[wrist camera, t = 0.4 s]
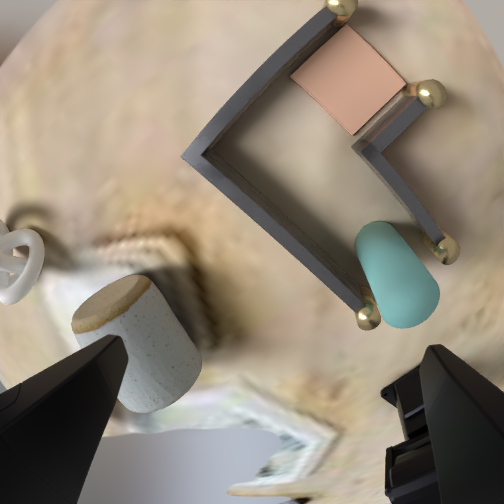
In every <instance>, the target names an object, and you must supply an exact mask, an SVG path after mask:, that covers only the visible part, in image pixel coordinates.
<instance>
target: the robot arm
mask: <svg viewBox="0 0 504 504" xmlns="http://www.w3.org/2000/svg"><path fill="white" fill-rule="evenodd" d="M128 361H129V357H128V353H127V350H126V347H125V345H124V342H123V339H122V337H121V336H119V335H114V334H108V335H106V336H104V337H102V338H100V339H99V340H97V341H95V342H93V343H91V344H90V345H88V346H86V347H84V348H82V349H81V350H79V351H77V352H75V353H73V354H72V355H70V356H68V357H66V358H64V359H63V360H61V361H59V362H57V363H55V364H54V365H52V366H50V367H48V368H47V369H45V370H43V371H41V372H39V373H38V374H36V375H34V376H32V377H30V378H29V379H27V380H25V381H23V382H22V383H19V384H18V385H16V386H14V387H12V388H10V389H9V390H7V391H5V392H3V393H1V394H0V504H77V501H78V499H79V496H80V493H81V490H82V487H83V485H84V482H85V479H86V476H87V474H88V471H89V468H90V466H91V463H92V460H93V458H94V455H95V453H96V450H97V447H98V445H99V442H100V440H101V437H102V435H103V432H104V430H105V428H106V425H107V423H108V420H109V418H110V415H111V413H112V411H113V408H114V406H115V403H116V400H117V397H118V394H119V391H120V388H121V384H122V381H123V378H124V374H125V371H126V368H127V365H128ZM380 394H381V397H382V398H384V399H385V400H386V401H388V402H389V403H390V404H392V405H393V406H395V407H396V408H397V409H398V413H399V417H400V421H401V425H402V430H403V434H404V438H405V441H404V442H402V443H400V444H398V445H395V446H393V447H392V446H391V447H389V448H387V449H386V458H385V495H386V496H387V497H389V499H390V501H391V503H392V504H504V392H503V391H501V390H500V389H499V388H498V387H496V386H495V385H494V384H493V383H491V382H490V381H489V380H487V379H486V378H485V377H484V376H482V375H481V374H480V373H478V372H477V371H476V370H475V369H473V368H472V367H471V366H469V365H468V364H467V363H465V362H464V361H463V360H462V359H460V358H459V357H458V356H456V355H455V354H454V353H452V352H451V351H450V350H448V349H447V348H446V347H444V346H443V345H441V344H435V345H429V346H428V347H427V349H426V351H425V354H424V357H423V359H422V362H421V364H420V365H419V366H418V367H416V368H415V369H413V370H412V371H410V372H409V373H407V374H406V375H404V376H403V377H401V378H400V379H398V380H397V381H395V382H394V383H392V384H391V385H389V386H388V387H386V388H384V389H383V390H381V392H380Z"/></svg>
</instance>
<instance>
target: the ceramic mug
mask: <svg viewBox="0 0 504 504" xmlns="http://www.w3.org/2000/svg"><path fill="white" fill-rule="evenodd" d="M71 326H72V330H73V333H74V335H75V337H76V339H77V341H78V344H79V345H80V347H81V349H82V348H84V347H86V346H88V345H90V344H91V343H93V342H95V341H97V340H99V339H100V338H102V337H104V336H106V335H108V334H114V335H119V336H121V337H122V339H123V342H124V345H125V347H126V350H127V353H128V357H129V361H128V365H127V368H126V371H125V374H124V378H123V381H122V384H121V388H120V391H119V394H118V397H117V398H118V399H119V401H120V402H121V403H122V404H123V405H124V406H125V407H126V408H127V409H129V410H130V411H133V412H136V413H149V412H154V411H157V410H160V409H162V408H165V407H167V406H169V405H171V404H173V403H174V402H176V401H177V400H178V399H180V398H181V397H182V396H183V395H184V394H185V393H186V392H188V391H189V389H190V388H191V387H192V386H193V384H194V383H195V381H196V379H197V378H198V376H199V374H200V372H201V367H202V358H201V354H200V352H199V350H198V349H197V348H196V346H195V345H194V344H193V342H192V341H191V339H190V337H189V336H188V334H187V333H186V331H185V330H184V328H183V327H182V325H181V324H180V322H179V321H178V319H177V318H176V316H175V315H174V313H173V312H172V310H171V308H170V307H169V305H168V303H167V301H166V300H165V298H164V296H163V295H162V293H161V292H160V291H159V289H158V288H157V287H156V286H155V284H154V283H153V282H152V281H151V280H150V279H149V278H148V277H146V276H143V275H136V274H134V275H130V276H126V277H124V278H121V279H119V280H117V281H115V282H113V283H111V284H109V285H107V286H106V287H104V288H102V289H101V290H99V291H98V292H96V293H95V294H93V295H92V296H91V297H90V298H88V299H87V300H86V301H85V302H84V303H83V304H82V305H81V306H80V307H79V308H78V309H77V310H76V311H75V313H74V315H73V318H72V323H71Z"/></svg>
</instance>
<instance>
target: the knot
mask: <svg viewBox="0 0 504 504" xmlns="http://www.w3.org/2000/svg"><path fill="white" fill-rule="evenodd" d="M21 245H27V246H29V258H28V260H27V259H24V258H20V257H16V256H13V248H15V247H18V246H21ZM44 256H45V248H44V243H43V240H42V238H41V236H40V235H39V234H38V233H37V232H36V231H34V230H31V229H18V230H15V231H12V232H9V230H8V228H7V226H6V225H5V223H4V222H3V221H2V220H1V219H0V302H2V303H4V304H7V305H10V304H15V303H17V302H19V301H20V300H21V299H23V298H24V297H25V296H26V295H27V294H28V292H29V291H30V290H31V289H32V287H33V286H34V284H35V282H36V280H37V279H38V276H39V274H40V272H41V269H42V266H43V262H44ZM10 273H16V274H14V275H10ZM9 275H10V276H9Z"/></svg>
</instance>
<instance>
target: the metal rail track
mask: <svg viewBox="0 0 504 504" xmlns="http://www.w3.org/2000/svg"><path fill="white" fill-rule="evenodd" d="M357 6H358V0H325V3H324V6H323V9H322V10H321V11H319V12H318V13H317V14H316V15H315V16H314V17H312V18H311V19H310V20H309V21H308V22H307V23H306V24H304V25H303V26H302V27H301V28H300V29H299V30H298V31H297V32H296V33H295V34H293V35H292V36H291V37H290V38H289V39H288V40H287V41H286V42H285V43H284V44H283V45H282V46H281V47H280V48H279V49H278V50H277V51H276V52H274V53H273V54H272V55H271V56H270V57H269V58H268V59H267V60H266V61H265V62H264V63H263V64H262V65H261V66H260V67H259V68H258V69H257V70H256V71H255V72H254V74H253V75H252V76H251V77H250V78H249V79H248V80H247V81H246V82H245V83H244V84H243V85H242V86H241V87H240V88H239V89H238V90H237V91H236V93H235V94H234V95H233V96H232V97H231V98H230V99H229V100H228V101H227V102H226V104H225V105H224V106H223V107H222V108H221V109H220V110H219V111H218V113H217V114H216V115H215V116H214V117H213V118H212V119H211V121H210V122H209V123H208V124H207V125H206V126H205V128H204V129H203V130H202V131H201V132H200V133H199V135H198V136H197V137H196V138H195V139H194V141H193V142H192V143H191V144H190V146H189V147H188V148H187V149H186V151H185V152H184V153H183V154H182V155H181V158H183V159H184V160H185V161H186V162H187V163H188V164H190V165H191V166H192V167H193V168H194V169H195V170H197V171H198V172H199V173H200V174H201V175H202V176H204V177H205V178H206V179H207V180H208V181H209V182H210V183H212V184H213V185H214V186H215V187H216V188H217V189H219V190H220V191H221V192H222V193H223V194H224V195H225V196H227V197H228V198H229V199H230V200H231V201H232V202H234V203H235V204H236V205H237V206H238V207H239V208H240V209H241V210H243V211H244V212H245V213H246V214H247V215H248V216H249V217H251V218H252V219H253V220H254V221H255V222H256V223H257V224H258V225H260V226H261V227H262V228H263V229H264V230H265V231H266V232H268V233H269V234H270V235H271V236H272V237H273V238H274V239H275V240H276V241H278V242H279V243H280V244H281V245H282V246H283V247H284V248H285V249H287V250H288V251H289V252H290V253H291V254H292V255H293V256H294V257H295V258H297V259H298V260H299V261H300V262H301V263H302V264H303V265H304V266H305V267H306V268H308V269H309V270H310V271H311V272H312V273H313V274H314V275H315V276H316V277H317V278H319V279H320V280H321V281H322V282H323V283H324V284H325V285H326V286H327V287H328V288H329V289H331V290H332V291H333V292H334V293H335V294H336V295H337V296H338V297H339V298H340V299H341V300H342V301H344V302H345V303H346V304H347V305H348V306H349V307H350V308H351V309H352V310H353V311H354V312H355V316H356V319H357V323H358V326H359V328H361V329H362V330H372V329H374V328H376V327H377V326H378V325H379V324H380V322H381V316H380V313H379V311H378V308H377V305H376V303H375V300H374V298H373V295H372V293H371V290H370V289H369V288H367V287H363V286H362V287H359V286H358V285H357V284H356V283H355V282H354V281H353V280H352V279H351V278H350V277H349V276H348V275H347V274H346V273H345V272H344V271H343V270H342V269H341V268H340V267H339V266H338V265H337V264H336V263H335V262H334V261H333V260H332V259H331V258H330V257H329V256H328V255H327V254H326V253H325V252H323V251H322V250H321V249H320V248H319V247H318V246H317V245H316V244H315V243H314V242H313V241H312V240H311V239H310V238H309V237H308V236H307V235H306V234H305V233H303V232H302V231H301V230H300V229H299V228H298V227H297V226H296V225H295V224H294V223H293V222H292V221H291V220H290V219H288V218H287V217H286V216H285V215H284V214H283V213H282V212H281V211H280V210H279V209H278V208H276V207H275V206H274V205H273V204H272V203H271V202H270V201H269V200H268V199H267V198H265V197H264V196H263V195H262V194H261V193H260V192H259V191H258V190H257V189H255V188H254V187H253V186H252V185H251V184H250V183H249V182H248V181H246V180H245V179H244V178H243V177H242V176H241V175H240V174H239V173H237V172H236V171H235V170H234V169H233V168H232V167H231V166H229V165H228V164H227V163H226V162H225V161H224V160H223V159H221V158H220V157H219V156H218V155H217V154H216V153H214V152H213V151H212V150H211V149H212V148H213V146H214V145H215V144H216V143H217V142H218V141H219V140H220V138H221V137H222V136H223V135H224V134H225V133H226V132H227V130H228V129H229V128H230V127H231V126H232V125H233V124H234V123H235V122H236V121H237V119H238V118H239V117H240V116H241V115H242V114H243V113H244V112H245V111H246V110H247V109H248V108H249V106H250V105H251V104H252V103H253V102H254V101H255V100H256V99H257V98H258V97H259V96H260V95H261V94H262V93H263V92H264V91H265V90H266V89H267V88H268V87H269V86H270V85H271V84H272V83H273V82H274V81H275V80H276V79H277V78H278V77H279V76H280V75H281V74H282V73H283V72H284V71H285V70H286V69H287V68H288V67H289V66H290V65H291V64H292V63H293V62H294V61H295V60H296V59H297V58H298V57H299V56H300V55H301V54H302V53H303V52H304V51H305V50H306V49H308V48H309V47H310V46H311V45H312V44H313V43H314V42H315V41H316V40H317V39H318V38H320V37H321V36H322V35H323V34H324V33H325V32H326V31H327V30H328V29H330V28H331V27H340V26H343V25H344V24H345V23H346V22H347V20H348V19H349V18H350V16H351V15H352V13H353V12H354V11H355V9H356V8H357ZM402 94H403V97H402V98H401V99H400V100H399V101H398V102H397V103H396V104H395V105H394V106H393V107H392V108H391V109H390V110H389V111H388V112H387V113H386V114H385V115H384V116H382V117H381V118H380V119H379V120H378V121H377V122H376V123H375V124H374V125H373V126H372V127H371V128H370V129H369V130H368V131H367V132H366V133H365V134H364V135H363V136H362V137H361V138H360V139H359V140H358V141H357V142H356V143H355V144H354V145H352V146H351V147H352V148H353V149H354V150H355V152H356V153H357V154H358V155H359V156H360V157H361V158H362V159H363V160H364V161H365V162H366V163H367V165H368V166H369V167H370V168H371V169H372V170H373V171H374V172H375V174H376V175H377V176H378V177H379V178H380V179H381V180H382V182H383V183H384V184H385V185H386V186H387V187H388V189H389V190H390V191H391V192H392V193H393V195H394V196H395V197H396V198H397V199H398V201H399V202H400V203H401V204H402V206H403V207H404V208H405V209H406V211H407V212H408V213H409V214H410V216H411V217H412V218H413V220H414V221H415V222H416V223H417V225H418V226H419V227H420V229H421V230H422V231H423V232H422V240H423V242H424V243H425V244H426V245H427V246H428V248H429V249H430V250H431V251H432V252H433V253H434V254H435V256H436V257H437V258H438V259H439V260H440V261H441V263H443V264H445V265H450V264H452V263H454V262H455V261H456V260H457V259H458V257H459V254H460V246H459V245H458V243H457V242H456V241H454V240H453V239H452V238H451V237H450V236H449V235H448V234H447V233H446V232H445V231H444V230H442V229H441V228H440V227H439V226H438V225H437V224H436V223H435V222H434V220H433V219H432V217H431V216H430V215H429V213H428V212H427V210H426V209H425V208H424V206H423V205H422V204H421V202H420V201H419V200H418V198H417V197H416V196H415V194H414V193H413V192H412V191H411V189H410V188H409V187H408V185H407V184H406V183H405V182H404V180H403V179H402V178H401V177H400V175H399V174H398V173H397V172H396V171H395V169H394V168H393V167H392V166H391V165H390V163H389V162H388V161H387V160H386V159H385V158H384V156H383V155H382V154H381V152H382V151H383V150H384V149H385V148H386V147H387V146H388V145H389V144H390V143H392V142H393V141H394V140H395V139H396V138H397V137H398V136H399V135H400V134H401V133H402V132H403V131H404V130H405V129H406V128H407V127H408V126H409V125H410V124H411V123H412V122H413V121H414V120H415V119H416V118H417V117H418V116H419V115H420V114H421V113H422V112H423V111H424V110H425V109H426V108H440V107H442V106H443V105H444V104H445V103H446V100H447V93H446V90H445V88H444V86H443V85H442V84H441V83H440V82H439V81H437V80H433V79H432V80H425V81H419V82H413V83H408V84H407V85H405V87H404V88H403V92H402Z"/></svg>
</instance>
